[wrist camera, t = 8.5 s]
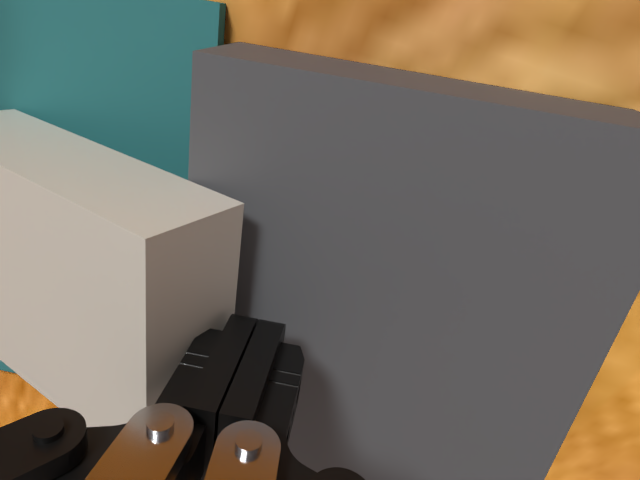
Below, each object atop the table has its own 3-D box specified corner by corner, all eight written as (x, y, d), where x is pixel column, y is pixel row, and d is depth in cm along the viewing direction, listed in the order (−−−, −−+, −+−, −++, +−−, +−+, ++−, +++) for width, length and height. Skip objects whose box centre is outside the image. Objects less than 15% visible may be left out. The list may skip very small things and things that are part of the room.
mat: (226, 3, 15) (219, 3, 14) (202, 402, 22) (197, 412, 21) (-204, -69, 16) (-226, -72, 15) (-95, 338, 22) (-107, 346, 22)
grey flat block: (634, 109, 15) (714, 141, 11) (492, 446, 21) (514, 538, 17) (239, 41, 15) (192, 50, 12) (214, 387, 21) (178, 463, 18)
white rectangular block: (244, 203, 12) (145, 238, 10) (225, 412, 15) (146, 479, 13) (14, 109, 16) (-93, 118, 14) (35, 287, 19) (-50, 319, 17)
